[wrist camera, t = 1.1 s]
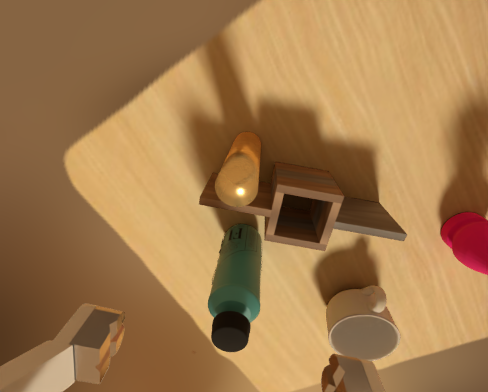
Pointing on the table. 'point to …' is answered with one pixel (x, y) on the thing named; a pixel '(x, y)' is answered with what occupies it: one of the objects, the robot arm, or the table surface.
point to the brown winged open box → (321, 212)
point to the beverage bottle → (236, 288)
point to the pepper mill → (468, 239)
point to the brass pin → (240, 171)
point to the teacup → (361, 324)
